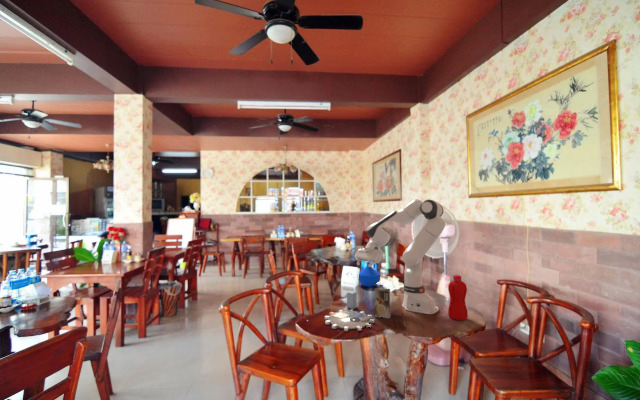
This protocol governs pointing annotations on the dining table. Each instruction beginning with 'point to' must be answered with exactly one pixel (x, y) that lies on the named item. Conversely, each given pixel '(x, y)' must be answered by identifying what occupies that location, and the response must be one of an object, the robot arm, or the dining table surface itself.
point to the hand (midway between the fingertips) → (363, 265)
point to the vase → (369, 276)
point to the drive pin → (351, 299)
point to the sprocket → (349, 320)
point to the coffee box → (382, 302)
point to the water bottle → (457, 299)
